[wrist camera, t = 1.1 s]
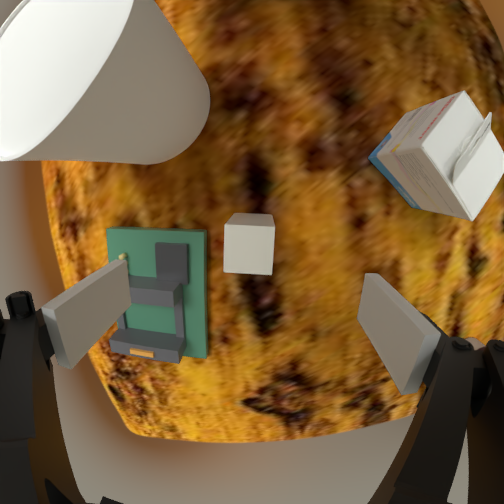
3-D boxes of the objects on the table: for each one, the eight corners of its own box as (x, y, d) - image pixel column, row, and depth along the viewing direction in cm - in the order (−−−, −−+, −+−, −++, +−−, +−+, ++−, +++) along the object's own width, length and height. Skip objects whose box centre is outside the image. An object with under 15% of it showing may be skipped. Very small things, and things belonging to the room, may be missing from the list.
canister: (108, 70, 26) (-2, 13, 6) (211, 50, 25) (155, -68, 6) (102, 170, 29) (-35, 179, 10) (210, 159, 28) (117, 130, 9)
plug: (234, 212, 30) (224, 224, 22) (272, 214, 30) (275, 226, 22) (233, 250, 31) (223, 273, 23) (269, 252, 31) (271, 276, 23)
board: (112, 226, 31) (88, 235, 25) (206, 229, 30) (195, 240, 25) (125, 340, 35) (109, 361, 30) (208, 352, 34) (200, 377, 29)
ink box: (410, 209, 29) (484, 231, 16) (365, 156, 28) (431, 146, 15) (447, 162, 27) (523, 163, 14) (406, 110, 26) (476, 83, 13)
